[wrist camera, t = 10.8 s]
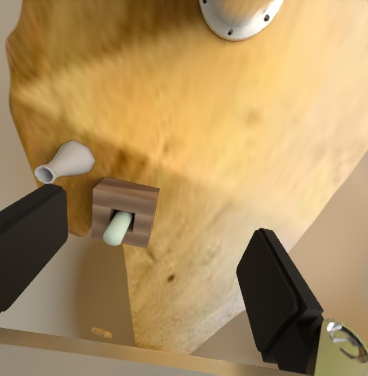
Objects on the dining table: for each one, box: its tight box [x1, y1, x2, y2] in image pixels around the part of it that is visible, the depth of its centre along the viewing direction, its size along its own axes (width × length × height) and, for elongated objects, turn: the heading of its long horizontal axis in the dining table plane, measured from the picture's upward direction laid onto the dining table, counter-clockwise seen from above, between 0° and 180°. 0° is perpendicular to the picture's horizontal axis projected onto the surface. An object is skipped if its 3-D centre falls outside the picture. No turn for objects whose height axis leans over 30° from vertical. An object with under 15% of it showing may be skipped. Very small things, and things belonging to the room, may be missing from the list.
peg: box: [103, 210, 134, 246], centre depth 39 cm, size 3×3×10 cm
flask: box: [34, 139, 95, 184], centre depth 35 cm, size 7×7×10 cm
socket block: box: [92, 177, 160, 248], centre depth 41 cm, size 12×12×6 cm
